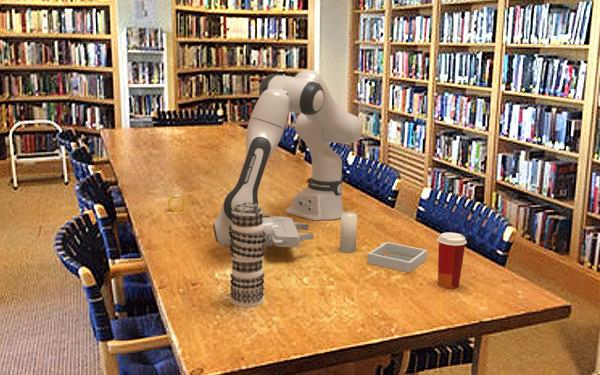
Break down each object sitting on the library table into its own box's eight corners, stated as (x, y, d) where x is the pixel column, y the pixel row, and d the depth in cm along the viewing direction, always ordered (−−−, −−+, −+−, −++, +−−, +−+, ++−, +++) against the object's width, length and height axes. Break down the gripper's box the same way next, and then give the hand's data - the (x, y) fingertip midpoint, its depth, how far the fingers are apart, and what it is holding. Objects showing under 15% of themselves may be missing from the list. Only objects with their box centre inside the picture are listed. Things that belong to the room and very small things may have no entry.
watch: (169, 212, 235) (168, 196, 234) (167, 210, 237) (167, 195, 236) (185, 210, 237) (184, 195, 236) (183, 209, 240) (183, 194, 238)
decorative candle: (221, 299, 158) (220, 204, 152) (249, 289, 165) (249, 198, 159) (244, 310, 152) (244, 212, 146) (272, 300, 158) (273, 205, 152)
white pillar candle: (337, 250, 196) (338, 214, 194) (344, 246, 201) (346, 210, 198) (351, 254, 194) (352, 217, 191) (358, 249, 198) (360, 213, 195)
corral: (367, 263, 186) (367, 253, 186) (386, 250, 198) (386, 241, 197) (409, 272, 179) (410, 262, 179) (426, 259, 191) (427, 250, 190)
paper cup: (458, 279, 175) (462, 232, 172) (466, 290, 168) (470, 240, 164) (430, 279, 175) (434, 231, 172) (437, 290, 167) (441, 240, 164)
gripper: (269, 232, 181) (316, 231, 183) (263, 213, 201) (306, 212, 203) (269, 253, 183) (315, 251, 185) (263, 231, 202) (305, 231, 204)
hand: (310, 231), depth 194 cm, fingers open, 8 cm apart
